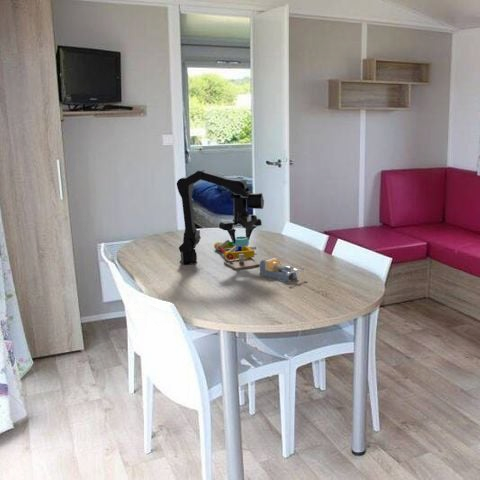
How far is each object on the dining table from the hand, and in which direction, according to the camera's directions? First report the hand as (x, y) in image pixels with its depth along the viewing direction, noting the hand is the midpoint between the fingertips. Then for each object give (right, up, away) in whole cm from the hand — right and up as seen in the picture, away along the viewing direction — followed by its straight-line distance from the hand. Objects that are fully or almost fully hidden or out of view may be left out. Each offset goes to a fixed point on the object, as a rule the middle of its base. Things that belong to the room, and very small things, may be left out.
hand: (240, 242), depth 240 cm
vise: (+17, -15, -15) cm, 27 cm away
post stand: (0, -10, +3) cm, 11 cm away
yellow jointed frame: (-1, -6, +19) cm, 20 cm away
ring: (0, -1, 0) cm, 1 cm away
